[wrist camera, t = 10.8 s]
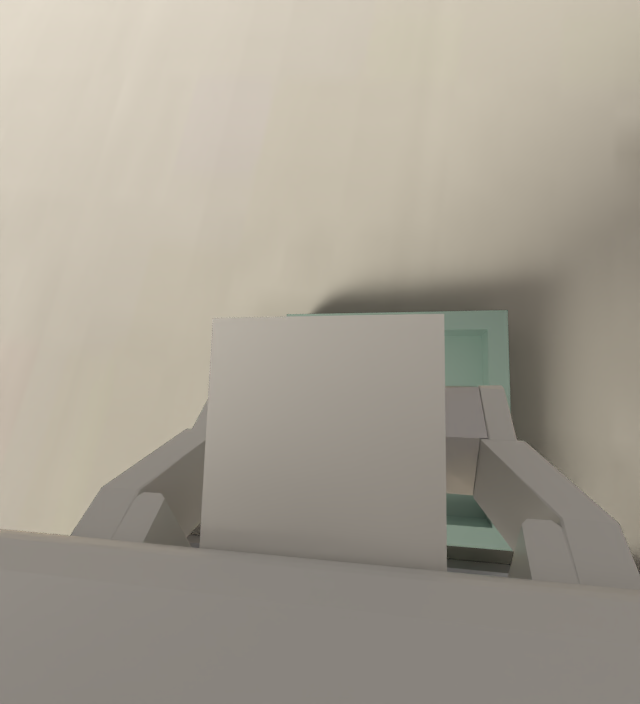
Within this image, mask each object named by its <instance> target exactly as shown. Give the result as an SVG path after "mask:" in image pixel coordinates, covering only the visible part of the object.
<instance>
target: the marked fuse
mask: <svg viewBox="0 0 640 704" xmlns="http://www.w3.org/2000/svg"><path fill="white" fill-rule="evenodd" d="M199 548H204V549H215V550H225V551H235V552H246V553H256V554H267V555H277V556H288V557H298V558H308V559H319V560H329V561H340V562H350V563H361V564H371V565H382V566H393V567H403V568H414V569H424V570H435V571H446V572H447V522H446V429H445V336H444V314H401V315H343V316H286V317H229V318H213V323H212V340H211V357H210V374H209V391H208V409H207V426H206V443H205V460H204V477H203V494H202V512H201V529H200V546H199Z"/></svg>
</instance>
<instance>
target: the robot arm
mask: <svg viewBox="0 0 640 704" xmlns="http://www.w3.org/2000/svg"><path fill="white" fill-rule="evenodd" d="M207 409H208V399H207V401H206V403H205V405H204V407H203V409H202V411H201V413H200V415H199V417H198V418H197V420H196V422H195V424H194V426H193V428H192V429H185V430H184V431H182V432H181V433H179V434H178V435H177V436H175V437H174V438H172V439H171V440H169V441H168V442H166V443H165V444H164V445H162V446H161V447H159V448H158V449H156V450H155V451H153V452H152V453H151V454H149V455H148V456H146V457H145V458H143V459H142V460H140V461H139V462H138V463H136V464H135V465H133V466H132V467H130V468H129V469H127V470H126V471H125V472H123V473H122V474H120V475H119V476H117V477H116V478H114V479H113V480H111V481H110V482H109V483H107V484H106V485H104V486H103V487H102V488H101V489H100V491H99V492H98V494H97V495H96V497H95V498H94V500H93V501H92V503H91V504H90V506H89V508H88V509H87V511H86V512H85V514H84V515H83V517H82V518H81V520H80V521H79V523H78V524H77V526H76V527H75V529H74V531H73V532H72V534H71V535H70V536H68V535H58V534H47V533H37V532H26V531H16V530H5V529H0V704H640V574H639V571H638V569H637V566H636V564H635V561H634V559H633V557H632V554H631V552H630V549H629V547H628V544H627V542H626V539H625V537H624V534H623V532H622V529H621V527H620V524H619V523H618V522H617V521H616V520H615V519H613V518H612V517H611V516H610V515H609V514H608V513H607V512H605V511H604V510H603V509H602V508H601V507H600V506H599V505H597V504H596V503H595V502H594V501H593V500H592V499H591V498H589V497H588V496H587V495H586V494H585V493H584V492H583V491H581V490H580V489H579V488H578V487H577V486H576V485H575V484H573V483H572V482H571V481H570V480H569V479H568V478H567V477H565V476H564V475H563V474H562V473H561V472H560V471H559V470H557V469H556V468H555V467H554V466H553V465H552V464H551V463H549V462H548V461H547V460H546V459H545V458H544V457H543V456H541V455H540V454H539V453H538V452H537V451H536V450H535V449H533V448H532V447H531V446H530V445H529V444H528V443H527V442H525V441H519V440H517V438H516V434H515V430H514V426H513V422H512V418H511V414H510V410H509V406H508V402H507V398H506V394H505V390H504V388H503V387H502V385H478V386H445V429H446V493H449V494H461V495H473V498H474V499H475V500H476V502H477V503H478V504H479V506H480V507H481V508H482V510H483V511H484V513H485V514H486V515H487V517H488V518H489V519H490V521H491V522H492V523H493V525H494V526H495V527H496V529H497V530H498V531H499V533H500V534H501V535H502V537H503V538H504V539H505V541H506V542H507V543H508V545H509V546H510V548H511V549H512V550H513V552H514V555H513V559H512V563H511V566H510V570H509V574H508V577H499V576H488V575H477V574H467V573H456V572H446V571H435V570H424V569H414V568H403V567H393V566H382V565H371V564H361V563H350V562H340V561H329V560H319V559H308V558H298V557H288V556H277V555H267V554H256V553H246V552H235V551H225V550H215V549H204V548H194V547H191V545H190V543H189V541H188V540H187V538H186V537H187V536H188V535H189V534H190V533H191V532H192V531H193V530H194V529H195V528H196V527H197V526H198V525H199V524H200V523H201V512H202V494H203V477H204V460H205V443H206V426H207Z"/></svg>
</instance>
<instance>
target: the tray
mask: <svg viewBox="0 0 640 704" xmlns="http://www.w3.org/2000/svg"><path fill="white" fill-rule="evenodd" d="M401 314H444V336H445V386H478V385H502V387H503V388H504V390H505V394H506V398H507V402H508V406H509V410H510V414H511V406H510V373H509V339H508V310H488V311H437V312H385V313H334V314H287V316H343V315H401ZM446 522H447V545H448V546H460V547H471V548H483V549H494V550H506V551H513V550H512V549H511V548H510V546H509V545H508V543H507V542H506V541H505V539H504V538H503V537H502V535H501V534H500V533H499V531H498V530H497V529H496V527H495V526H494V525H493V523H492V522H491V521H490V519H489V518H488V517H487V515H486V514H485V513H484V511H483V510H482V508H481V507H480V506H479V504H478V503H477V502H476V500H475V499H474V498H473V495H461V494H449V493H446Z"/></svg>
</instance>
